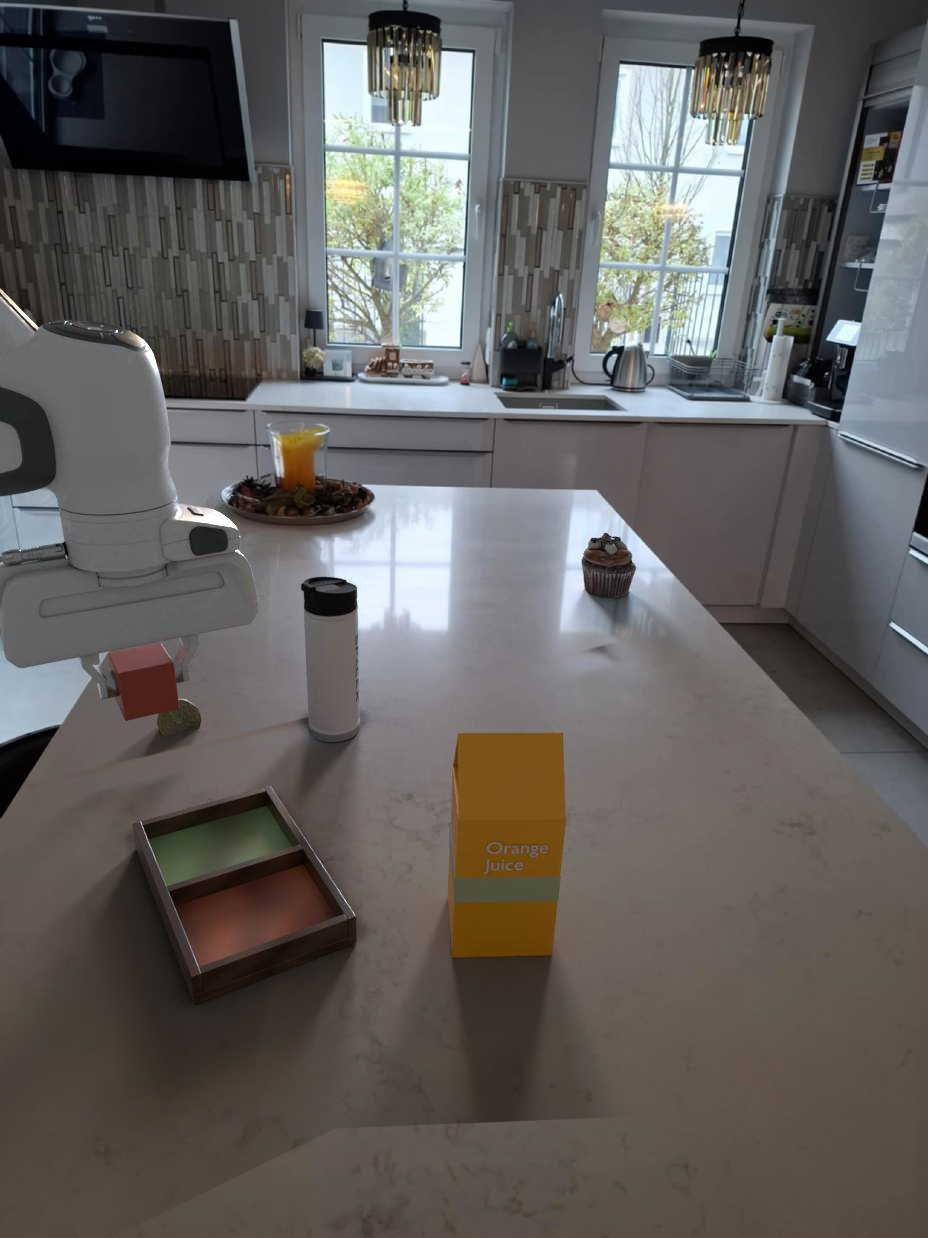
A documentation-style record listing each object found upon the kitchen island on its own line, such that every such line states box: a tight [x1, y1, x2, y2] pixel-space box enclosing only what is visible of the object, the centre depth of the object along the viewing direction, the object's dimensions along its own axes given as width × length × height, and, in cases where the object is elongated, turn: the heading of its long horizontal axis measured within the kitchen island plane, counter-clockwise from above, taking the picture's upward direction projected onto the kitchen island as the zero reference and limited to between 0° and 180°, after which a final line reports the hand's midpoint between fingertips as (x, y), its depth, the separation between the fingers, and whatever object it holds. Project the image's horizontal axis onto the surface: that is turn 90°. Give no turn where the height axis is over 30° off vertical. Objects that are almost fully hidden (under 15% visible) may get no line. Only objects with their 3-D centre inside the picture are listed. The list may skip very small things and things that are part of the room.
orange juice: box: [447, 732, 567, 958], centre depth 74 cm, size 8×9×20 cm
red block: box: [107, 642, 179, 722], centre depth 75 cm, size 4×4×4 cm
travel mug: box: [300, 576, 361, 743], centre depth 104 cm, size 6×7×20 cm
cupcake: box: [580, 532, 637, 599], centre depth 154 cm, size 10×10×10 cm
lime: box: [156, 698, 202, 737], centre depth 104 cm, size 4×5×5 cm
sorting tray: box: [132, 785, 358, 1006], centre depth 80 cm, size 14×22×3 cm, turn 31°
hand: (145, 687), depth 75 cm, fingers closed on red block, 4 cm apart
